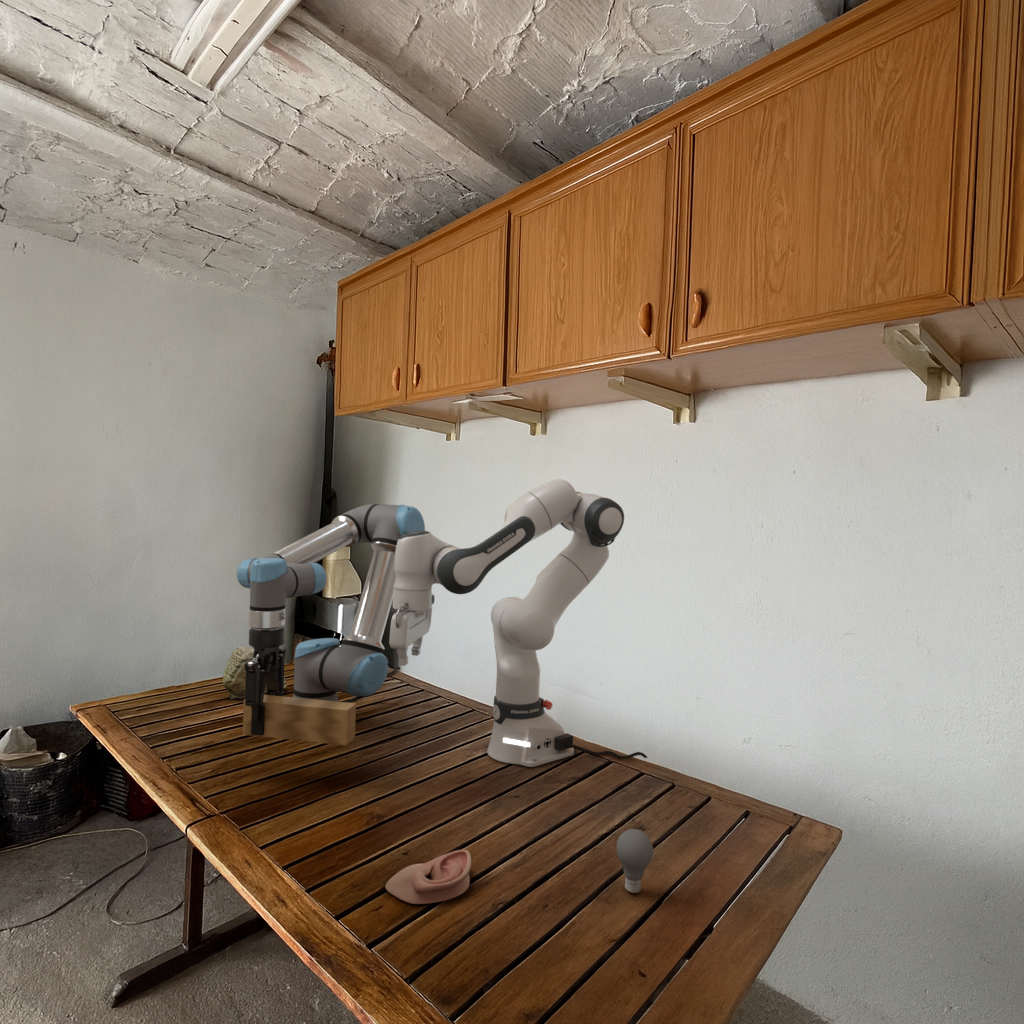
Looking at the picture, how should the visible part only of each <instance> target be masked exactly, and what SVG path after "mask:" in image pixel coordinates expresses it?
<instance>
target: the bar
mask: <svg viewBox="0 0 1024 1024" xmlns="http://www.w3.org/2000/svg"><path fill="white" fill-rule="evenodd" d="M263 705H265V722H264V735H263V736H261V735H252V734H251V717H252V716H251V715H252V707H251V706H246V705H245V699H243V709H242V710H243V711H242V713H243V714H242V715H243V716H242V735H243V736H250V737H251V736H252V737H262V738H272V739H280V740H290V741H298V742H308V743H317V744H327V745H328V744H329V745H339V746H348V745H349V744H350V743H351V742H352V741H354V739H355V738H356V720H357V719H356V718H357V717H356V716H357V715H356V714H357V703H356V702H345V701H339V702H337V701H327V700H316V699H305V698H294V697H293V696H284V695H282V696H273V695H264V699H263Z"/></svg>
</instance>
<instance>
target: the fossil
mask: <svg viewBox="0 0 1024 1024" xmlns="http://www.w3.org/2000/svg"><path fill="white" fill-rule="evenodd" d="M253 653H254V648H251V647H247V646H246V647H245V646H238V647H237V648H236V649H235V650H233V651H232V653H231V656H230V657H229V659H228V660H227V663H226V666H225V668H224V671H223V675H222V676H223V677H222V685H223V687H224V688H225V690H226V691H228V693H229V698H230V699H245V691H246V670H245V662H246V661H248V662H250V661H251V660H252V659H253ZM259 671H264V670H259ZM287 687H288V686H287V680H286V678H285V676H284V689H283V691H282V692H281V691H280V693H283V694H284V693H285V691H286V689H287ZM264 695H267V687H266V685H265V692H264Z"/></svg>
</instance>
